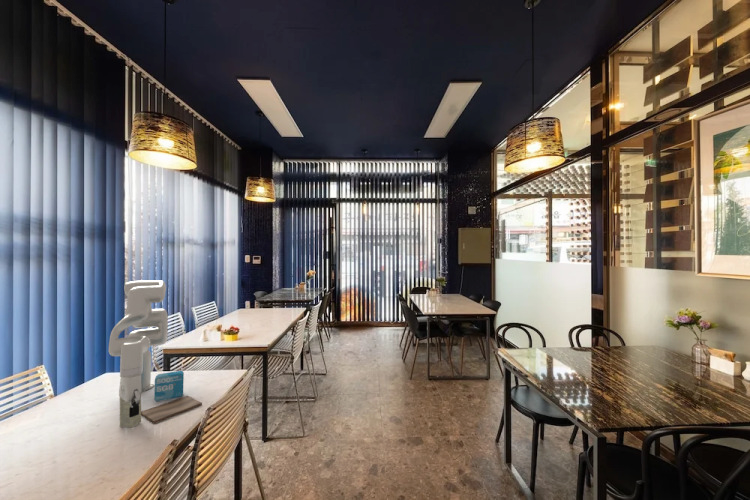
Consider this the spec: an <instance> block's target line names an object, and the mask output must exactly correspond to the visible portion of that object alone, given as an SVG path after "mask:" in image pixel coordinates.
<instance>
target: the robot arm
mask: <svg viewBox="0 0 750 500" xmlns="http://www.w3.org/2000/svg"><path fill="white" fill-rule="evenodd" d="M123 287H124V292H125V294H126V296H127V299H126V309H125V316H124V317H123V318H121V320H119V321H118V322H117V323H116V324H115V325H114V327H113V328H112V330H111V332H110V336H109V340H108V341H109V342H108V353H109V355H110V356H111V357H120V361H119V363H120V365H119V369H120V370H119V377H120V381H119V389H118V397H119V398H120V397H121V398H122V399H123V400H124V401H126V402H129V401H130V406H131V407H130V408H129V417H133V416H136V415H139V405H140V397H141V398H142V392H144V391H148V390H151V389H152V388H154V387H155V382H153V381H151V378H152V374H151V373H152V352H151V351H150V350H149V349H150V347H156V346H162V345H164V344H166V342H167V341H168V335H169V334H168V329H169V327H168V326H169V321H168V319H169V318H168V316H169V315H168V312H167V310H166V309H165V308H152V304H155V303H162V302H164V299H165V297H166V292H167V285H166V282H165V281H163V280H132V281H128V282H126V283H125V284H124V286H123ZM129 327H133V328H136V330H133V331H131V332H129V333H128V335H127V336H126V337H121V338H119V337H120V334H121V333H122V332H123V331H124V330H126V329H128V328H129ZM153 327H154V328H153ZM133 397H135V399H132V398H133ZM134 400H135V402H134V403H133V402H132V401H134Z"/></svg>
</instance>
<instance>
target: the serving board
mask: <svg viewBox="0 0 750 500" xmlns="http://www.w3.org/2000/svg"><path fill="white" fill-rule="evenodd" d="M202 406H203V403H202V401H200V400H197V399H195V398H194V397H192V396H190V395H185V396H181V397H178V398H175V399H173V400H170V401H168V402H164V403H162V404H159V405H157V406H153V407H151V408H147V409H145V410H141V417H142V418H144V419H146V420H147V421H149V422H150V423H151V424H152V425H154V424H158V423H160V422H163V421H165V420H167V419H169V418H173V417H176V416H178V415H180V414H183V413H185V412H188V411H190V410H193V409H196V408H199V407H202Z"/></svg>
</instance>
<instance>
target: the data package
mask: <svg viewBox="0 0 750 500" xmlns="http://www.w3.org/2000/svg"><path fill="white" fill-rule="evenodd" d="M184 375H185V374H184V371H183V370H177V371H170V372H162V373H159V374H158V373H157V375H156V376H155V378H154V395H153V397H154V398H153V399H154V402H161V401H168V400H171V399H173V400H174V399H179V398H182V397H183V394H184V382H185V381H184V380H185V379H184V377H185V376H184Z"/></svg>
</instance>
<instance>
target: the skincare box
mask: <svg viewBox="0 0 750 500" xmlns="http://www.w3.org/2000/svg"><path fill="white" fill-rule="evenodd" d="M132 399H135V397H133V398H132ZM132 402H133V403H134V402H135V400H134V401H132ZM130 407H131V406H130V401H129V402H126V401H124V400H123V399H122V398H121V397H119V427H123V428H134V427H136V426H137V425H139V424H140V423H141V422H142V416H141V411H142V396H141V397H140V405H139V415H136V416H133V417H129V408H130Z"/></svg>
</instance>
